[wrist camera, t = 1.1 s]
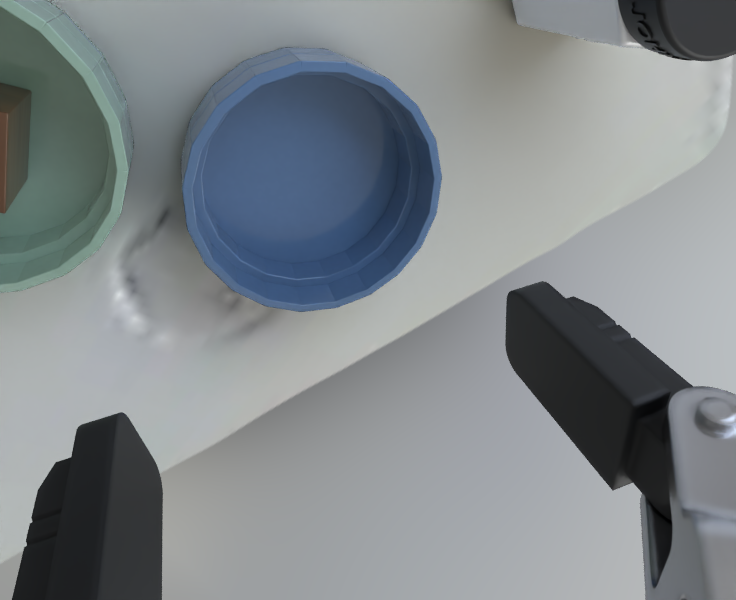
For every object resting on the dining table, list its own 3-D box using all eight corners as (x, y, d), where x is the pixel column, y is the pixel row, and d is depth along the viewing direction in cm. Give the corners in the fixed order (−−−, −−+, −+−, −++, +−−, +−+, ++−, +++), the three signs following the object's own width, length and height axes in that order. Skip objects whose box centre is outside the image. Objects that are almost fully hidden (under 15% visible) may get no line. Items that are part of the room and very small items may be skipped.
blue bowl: (135, 203, 30) (130, 241, 26) (272, -16, 27) (290, -10, 23) (323, 302, 38) (341, 343, 34) (450, 143, 34) (487, 168, 30)
